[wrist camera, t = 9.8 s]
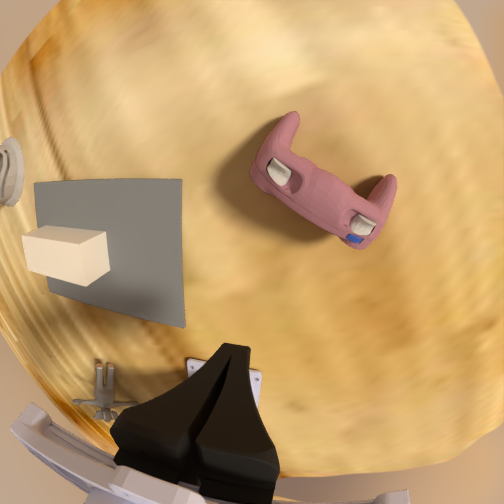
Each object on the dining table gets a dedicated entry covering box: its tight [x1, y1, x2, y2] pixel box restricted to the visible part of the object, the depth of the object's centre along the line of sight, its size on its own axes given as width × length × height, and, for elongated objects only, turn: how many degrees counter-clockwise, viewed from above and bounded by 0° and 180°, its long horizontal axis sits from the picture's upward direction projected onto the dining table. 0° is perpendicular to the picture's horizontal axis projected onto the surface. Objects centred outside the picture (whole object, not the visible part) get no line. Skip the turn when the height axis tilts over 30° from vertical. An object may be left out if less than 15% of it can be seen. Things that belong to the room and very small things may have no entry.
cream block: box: [22, 225, 110, 287], centre depth 23 cm, size 4×4×10 cm
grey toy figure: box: [72, 363, 138, 422], centre depth 30 cm, size 10×6×9 cm
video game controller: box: [249, 111, 397, 250], centre depth 17 cm, size 10×5×7 cm, turn 61°
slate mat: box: [34, 179, 186, 328], centre depth 25 cm, size 14×20×1 cm
